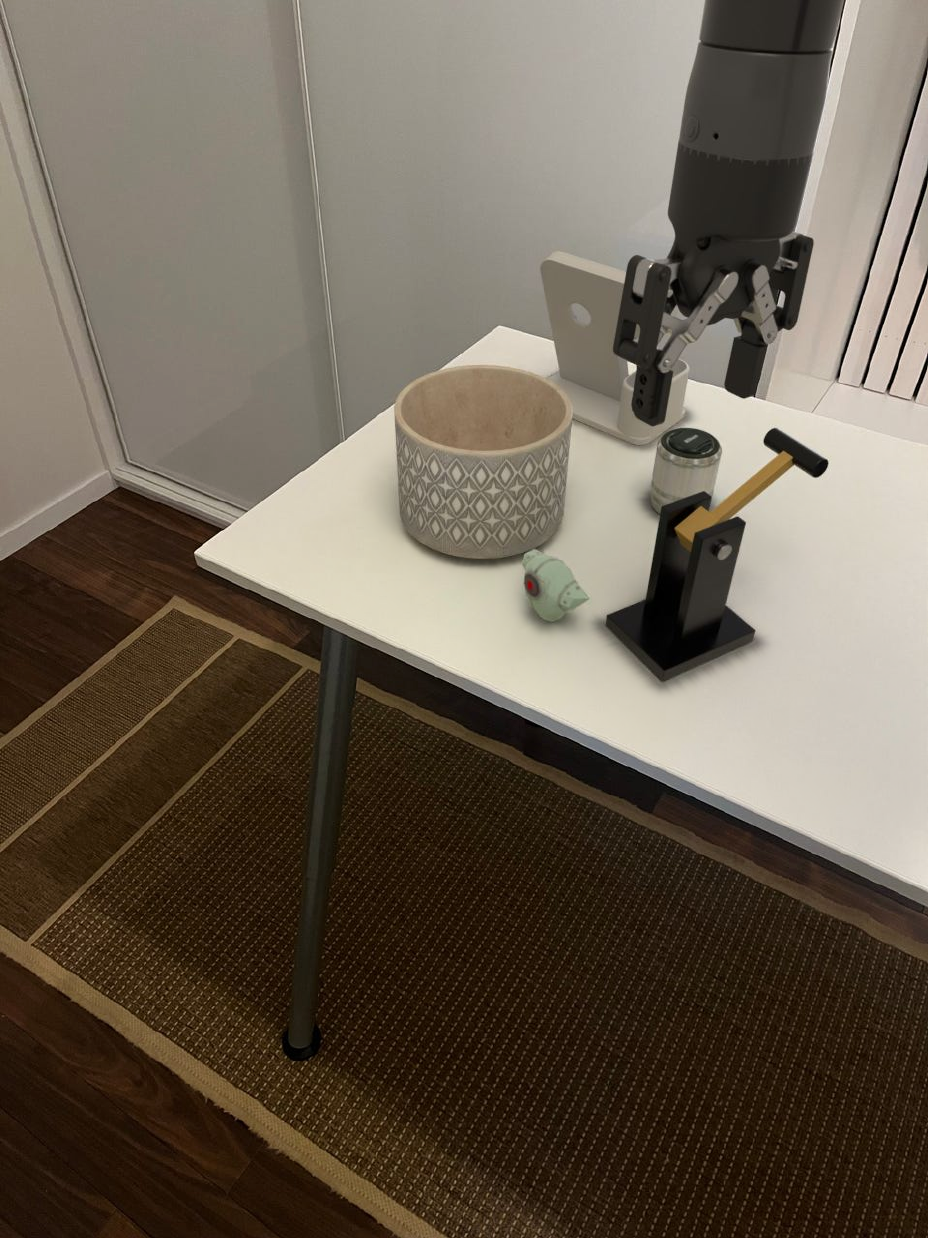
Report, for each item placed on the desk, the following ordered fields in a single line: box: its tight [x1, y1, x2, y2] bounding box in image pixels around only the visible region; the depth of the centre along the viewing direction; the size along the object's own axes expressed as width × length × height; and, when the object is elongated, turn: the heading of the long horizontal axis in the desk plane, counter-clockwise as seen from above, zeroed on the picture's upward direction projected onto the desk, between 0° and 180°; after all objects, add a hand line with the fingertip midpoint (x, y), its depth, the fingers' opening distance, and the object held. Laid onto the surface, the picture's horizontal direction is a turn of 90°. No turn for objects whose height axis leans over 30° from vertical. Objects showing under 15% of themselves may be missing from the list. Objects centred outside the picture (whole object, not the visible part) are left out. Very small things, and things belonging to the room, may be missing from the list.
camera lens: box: [650, 427, 723, 515], centre depth 94 cm, size 6×6×8 cm
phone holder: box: [539, 250, 690, 446], centre depth 106 cm, size 17×10×18 cm, turn 49°
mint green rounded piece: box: [521, 548, 591, 622], centre depth 81 cm, size 8×4×7 cm, turn 33°
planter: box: [393, 364, 573, 560], centre depth 91 cm, size 16×16×13 cm
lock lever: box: [675, 427, 830, 552], centre depth 75 cm, size 12×6×2 cm, turn 120°
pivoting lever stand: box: [605, 491, 756, 683], centre depth 78 cm, size 10×8×13 cm
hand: (694, 406), depth 63 cm, fingers open, 8 cm apart
